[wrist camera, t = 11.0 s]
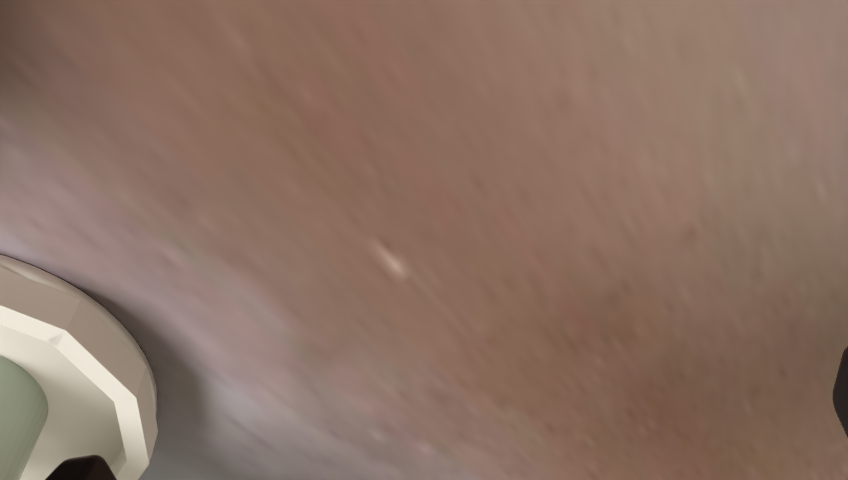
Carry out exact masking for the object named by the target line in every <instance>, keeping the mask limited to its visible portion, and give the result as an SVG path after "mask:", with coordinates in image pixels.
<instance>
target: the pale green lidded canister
mask: <svg viewBox="0 0 848 480" xmlns="http://www.w3.org/2000/svg"><path fill="white" fill-rule="evenodd" d="M47 417H48V402H47V398H46V396H45V393H44V391H43V390H42V388H41V386H40V385H39V384H38V382H37V381H36V380H35V379H34V378H33V377H32V376H31V375H30V374H29V373H28V372H27V371H25V370H24V369H23V368H22V367H20V366H19V365H17V364H16V363H14V362H12V361H11V360H9V359H7V358H5V357H3V356H0V480H20V478H21V476H22V474H23V472H24V469H25V467H26V465H27V463H28V460H29V458H30V456H31V454H32V451H33V449H34V447H35V445H36V443H37V440H38V438H39V436H40V434H41V431H42V429H43V427H44V425H45V422H46V420H47Z"/></svg>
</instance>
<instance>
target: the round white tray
mask: <svg viewBox="0 0 848 480" xmlns="http://www.w3.org/2000/svg"><path fill="white" fill-rule="evenodd" d="M0 356H3V357H5V358H7V359H9V360H11V361H12V362H14V363H16V364H17V365H19V366H20V367H22V368H23V369H24V370H25V371H27V372H28V373H29V374H30V375H31V376H32V377H33V378H34V379H35V380H36V381H37V382H38V384H39V385H40V386H41V388H42V390H43V391H44V393H45V396H46V398H47V402H48V417H47V420H46V422H45V425H44V427H43V429H42V431H41V434H40V436H39V438H38V440H37V443H36V445H35V447H34V449H33V451H32V454H31V456H30V458H29V460H28V463H27V465H26V467H25V469H24V472H23V474H22V476H21V478H20V480H45V479H46V478H47V477H48V476H49V475H50V474H51V473H52V472H53V470H54V469H55V468H56V467H57V466H58V465H59V464H60V463H62V462H63V461H65V460H67V459H69V458H74V457H81V456H88V455H99V456H101V457H103V458H104V459H105V461H106V462H107V464H108V465H109V467H110V469H111V470H112V472H113V474H114V476H115V477H116V479H117V480H138V479H139V478H140V476H141V475H142V474H143V472H144V471H145V469H146V468H147V467H148V465H149V463H150V459H151V456H152V452H153V449H154V445H155V442H156V438H157V434H158V428H157V422H156V413H157V405H158V400H157V387H156V384H155V380H154V376H153V372H152V370H151V368H150V365H149V363H148V361H147V359H146V357H145V354H144V353H143V351H142V350H141V348H140V347H139V345H138V344H137V342H136V341H135V339H134V338H133V337H132V335H131V334H130V333H129V332H128V331H127V330H126V329H125V327H124V326H123V325H122V324H121V323H120V322H119V321H118V320H117V319H116V318H115V317H114V316H113V315H112V314H111V313H109V312H108V311H107V310H106V309H105V308H104V307H103V306H102V305H100V304H99V303H97V302H96V301H95V300H93V299H92V298H91V297H89V296H88V295H87V294H85V293H84V292H82V291H81V290H79V289H77V288H76V287H74V286H72V285H70V284H69V283H67V282H65V281H64V280H62V279H60V278H58V277H56V276H54V275H52V274H50V273H48V272H45V271H43V270H41V269H39V268H37V267H35V266H32V265H29V264H26V263H24V262H21V261H18V260H15V259H13V258H10V257H7V256H3V255H0Z"/></svg>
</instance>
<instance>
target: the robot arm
mask: <svg viewBox="0 0 848 480" xmlns="http://www.w3.org/2000/svg"><path fill="white" fill-rule="evenodd" d="M833 403H834V407H835V410H836V413H837V415H838V417H839V420H840V422H841V424H842V426H843V428H844V431H845V433H846V435H847V437H848V347H847V348H846V349H845V350H844V352H843V355H842V359H841V362H840V366H839V370H838V374H837V377H836V381H835V385H834V389H833ZM45 480H117V479H116V477H115V476H114V474H113V472H112V470H111V469H110V467H109V465H108V464H107V462H106V461H105V459H104V458H103V457H101V456H99V455H88V456H81V457H74V458H69V459H67V460H65V461H63V462H62V463H60V464H59V465H58V466H57V467H56V468H55V469H54V470H53V472H52V473H51V474H50V475H49V476H48V477H47V478H46V479H45Z"/></svg>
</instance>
